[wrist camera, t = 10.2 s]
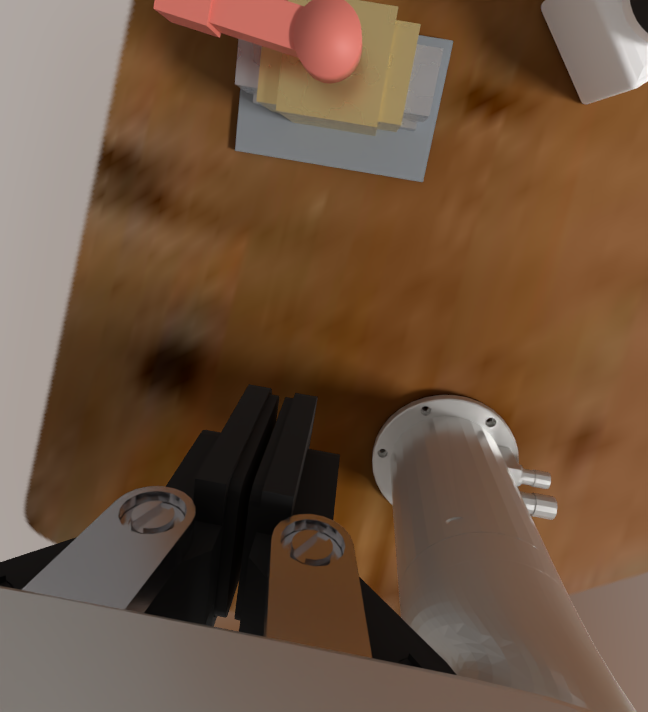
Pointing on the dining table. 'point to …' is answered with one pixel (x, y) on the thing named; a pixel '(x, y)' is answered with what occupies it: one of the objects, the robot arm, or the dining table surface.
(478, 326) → the dining table surface
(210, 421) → the dining table surface
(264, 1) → the lever
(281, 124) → the mat
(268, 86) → the valve
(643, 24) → the medicine bottle
